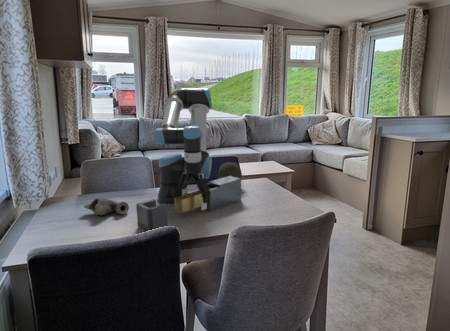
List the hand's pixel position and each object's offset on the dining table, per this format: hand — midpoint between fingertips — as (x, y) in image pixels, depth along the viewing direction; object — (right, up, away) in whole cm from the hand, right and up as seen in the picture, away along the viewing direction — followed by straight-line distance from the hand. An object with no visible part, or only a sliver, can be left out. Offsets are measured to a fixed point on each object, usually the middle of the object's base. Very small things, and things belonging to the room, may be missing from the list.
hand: (194, 205), depth 151 cm
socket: (-16, -8, -14) cm, 23 cm away
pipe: (-41, -4, +1) cm, 41 cm away
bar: (+5, +1, +5) cm, 7 cm away
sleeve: (+12, -1, +12) cm, 17 cm away
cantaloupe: (+17, +6, +37) cm, 42 cm away
